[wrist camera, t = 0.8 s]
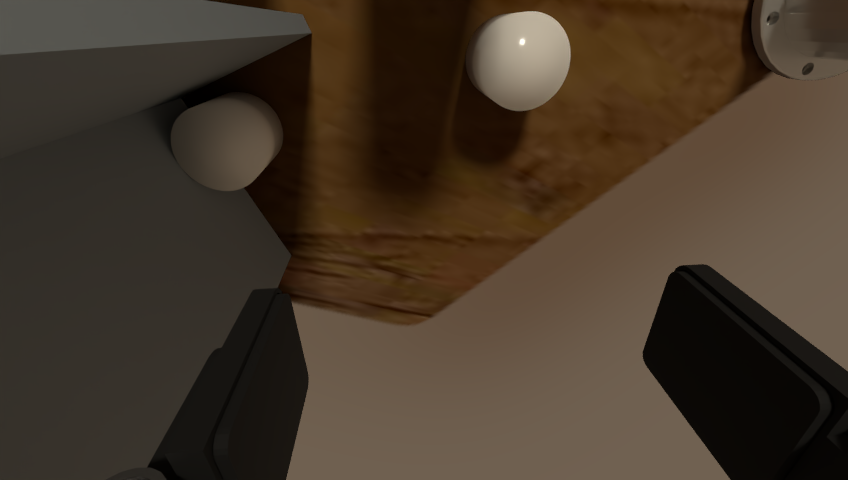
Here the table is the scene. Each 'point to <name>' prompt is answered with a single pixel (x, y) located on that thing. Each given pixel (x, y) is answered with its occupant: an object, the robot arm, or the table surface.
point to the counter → (115, 225)
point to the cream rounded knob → (227, 140)
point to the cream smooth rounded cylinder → (518, 59)
